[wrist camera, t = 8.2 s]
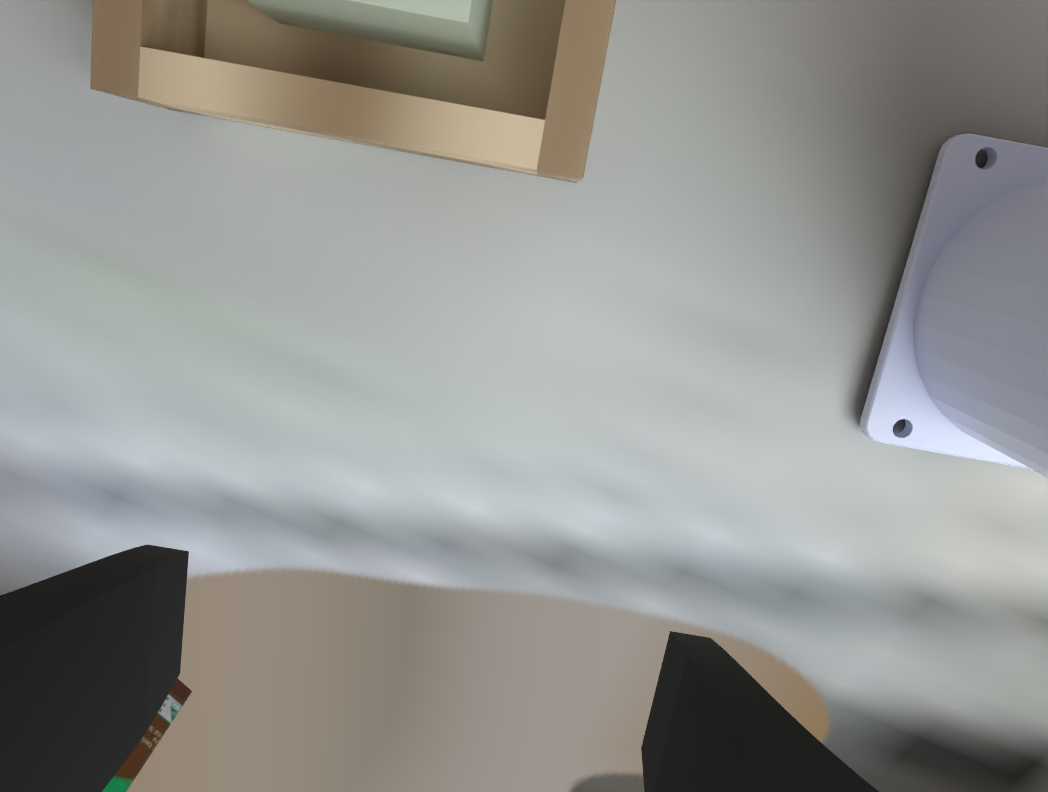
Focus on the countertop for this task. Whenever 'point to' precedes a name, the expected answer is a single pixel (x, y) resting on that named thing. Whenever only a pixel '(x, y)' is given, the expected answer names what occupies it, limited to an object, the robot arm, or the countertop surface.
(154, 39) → the box
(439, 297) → the countertop surface
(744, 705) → the robot arm
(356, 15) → the sage crate
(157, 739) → the food container
